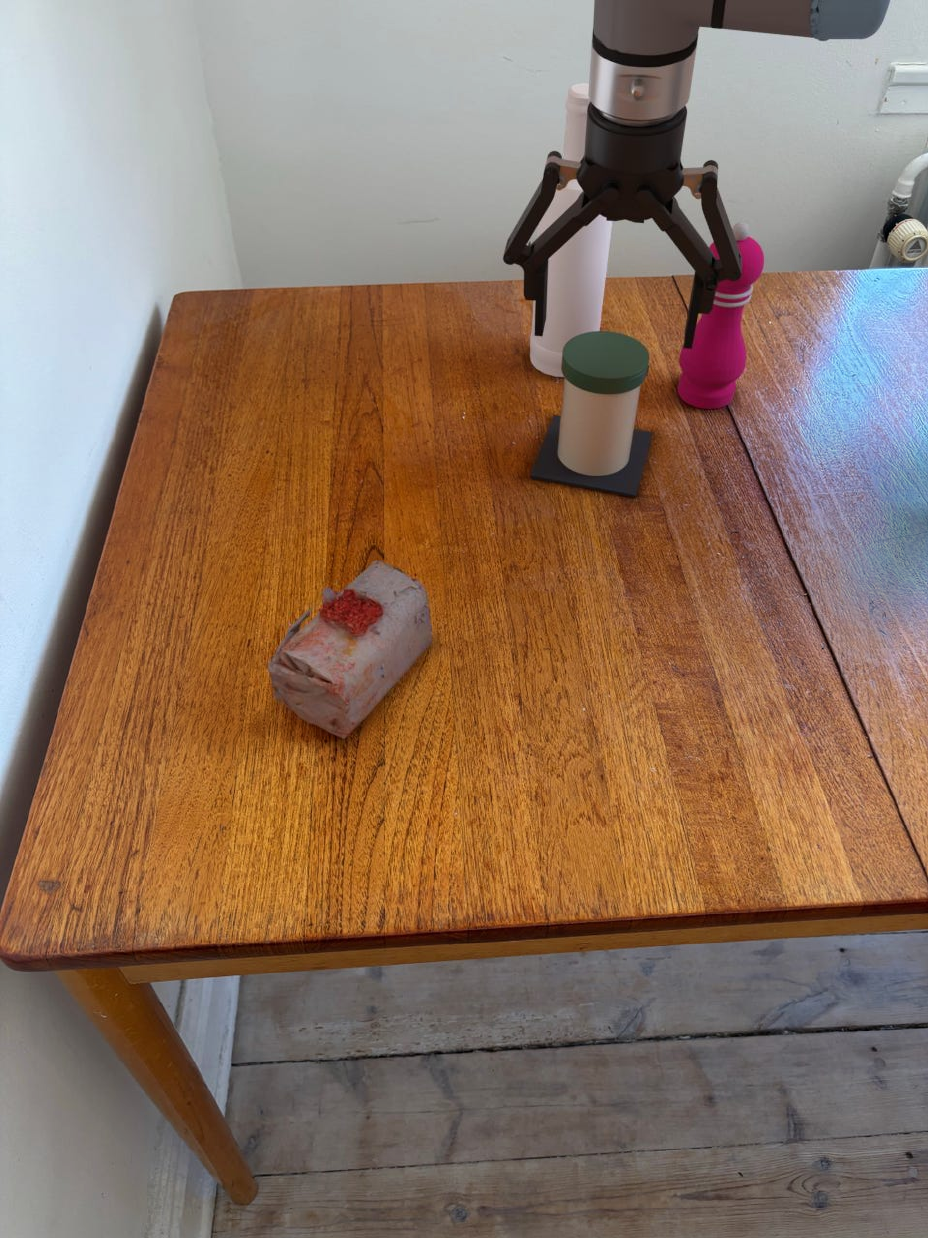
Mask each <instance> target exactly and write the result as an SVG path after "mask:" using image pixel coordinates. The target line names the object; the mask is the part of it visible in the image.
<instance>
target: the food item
mask: <svg viewBox="0 0 928 1238" xmlns="http://www.w3.org/2000/svg"><path fill="white" fill-rule="evenodd" d="M321 595H322V597H323V598H322V599H321V601H320V602H321V603H322V608H318V609H317V611H318V613H316V615H315V616H313V618H312V619H311V620H310V621H309V622H308V623H307V624H305V625H304V626H303V627H302V628H301V626H302V623H303V622H304V621H305V620H306V619H308V618H309V617H310V615H311V611H312V610H313V608H314V606H315V605H312V606H310V607H309V608H308V610H307V611H305V612H304V613H303V614H302V615H301V616H300V617H299V618H298V619H297V620H296V621H294V623H293V624H292V625H291V626H290V627H289V629H288V630H287V632H286V634H285V637H284V639H283V640H282V641H281V643H280V644H279V645H278V647H277V648H276V651H275V653H274V656H273V658H269V662H268V665H267V670H268V673H269V676H270V679H271V680H270V681H271V686H273V692H272V693H273V698H274V699H275V701H278V702H280V703H282V704H283V705H284V706H285V707H286V708H287V709H288V710H291V711H292V712H293V713H295V715H297V717H298V718H300V719H301V720H303V721H304V722H306V723H308V724H311V725H315V726H316V727H318V728H320V729H322V730H324V731H325V732H327V733H329V734H332V735H334V736H336V737H339V738H341V739H343V740H344V739H346V738H348V736H349V735H351V733H352V732H353V731H354V730H355V729H356V728H357V727H358V726H359V725H360V724H361V723H362V722H363V721H364V720H365V719H366V718H367V717H368V716H369V715H370V713H371V712H372V711H373V710H374V709H375V708H376V706H377V705H378V704H379V703H380V702H381V700H382V699H383V698H384V697H385V696H386V695H387V694H388V693H389V692H390V690H391V689H392V688H393V687H395V686H396V684H397V683H398V682H400V680H401V679H402V678H403V677H404V675H406V673H407V672H408V671H409V670H410V669H411V668H412V666H413V665H414V664H415V663H416V662H417V661H418V660H419V658H420V657H421V655H423V654H424V653H425V651H426V650H427V649H428V648H429V647H430V646H431V645H432V643H433V642H434V638H432V632H433V628H432V620H431V619H432V618H431V609H430V605H429V595H428V593H427V589H426V587H425V585H424V584H423V583H422V582H421V581H420V580H419V578H413V577H410V576H409V575H408V574H407V573H405V572H404V571H403V570H401V569H399V568H398V567H396V566H393V565H391V564H388V563H387V562H385V561H381V560H373V561H372V562H371V563H370V565H369V566H368V567H367V568H366V569H364V570H363V571H362V572H361V573H359V575H357V576H356V577H355V578H354V579H353V580H352V581H350V583H348V585H346V586H345V588H343V589H342V590H341V591H340V592H339V591H338V590H333V589H332V588H331V587H328V586H325V587H324V589H323V590H322V593H321ZM300 628H301V629H300Z"/></svg>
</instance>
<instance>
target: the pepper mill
mask: <svg viewBox="0 0 928 1238" xmlns="http://www.w3.org/2000/svg"><path fill="white" fill-rule="evenodd" d="M732 230H733V233H734V236H735V239H736V242H737V244H738V247H739V250H740V253H741V256H742V271H741V278H740V279H739V280H737V281H730V280H728V279H727V280H723V281H721V282H720V283H718V288H717V289H716V293H715V298H714V303H713V308H712V311H711V312H710V313H709V314H701V316H700V318H699V320H698V321H697V324H696V329H695V335H694V340H693V346H692V349H685V348H684V344H682V347H681V350H680V353H679V357H678V364H679V367H680V370H681V371H682V373H681V374H680V376H679V380H678V386H677V394H678V395H679V398H680V399H682V400H683V402H685V403H686V404H688V405H690V406H692V407H695V408H698V409H702V410H703V409H705V410H717V409H721V408H723V407H726V406H728V405H729V404H730V403H732V401H733V398H734V396H735V391H736V388H737V383H736V381H737V380H739V378H740V377H741V376H742V375H743V373H744V371H745V369H746V364H747V347H746V343H745V339H744V336H743V332H742V319H743V312H744V309H745V305H747V304H748V303H749V302H750V301H751V299H752V293H753V291H754V285H753V284H754V283H756V282H757V280H758V279H759V278H760V277H761V275H762V273H763V270H764V267H765V255H764V251H763V248H762V246H761V245H760V244H759V242H757V241H756V240H755V238H752V237H750V236H749V235H750V232H751V231H750V226H749V225H748V224H747V223H746V222H742V221H740V222H736V223H735V224H734V225H732ZM708 247H709V248H710V250H711V251H712V252H713V254H714V255H715V256H716V258H717V259H720V257H719V255H718V252H717V249H716V246H715V244H714V241H712V243H710V244H709V246H708Z"/></svg>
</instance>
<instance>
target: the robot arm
mask: <svg viewBox="0 0 928 1238" xmlns="http://www.w3.org/2000/svg"><path fill="white" fill-rule="evenodd" d="M593 3H594V4H593V5H594V6H593V21H592V22H593V23H592V35H591V36H592V37H591V44H590V46H591V47H590V59H589V60H590V61H589V62H590V63H589V76H588V77H589V79H588V83H589V91H588V96H589V98H590V103H589V105H588V108H587V122H586V137H585V152H584V156H583V158H582V160H581V161H580V162H577V161H571V160H565V159H563V155H562V154H561V153H560V152H559V151H557V150H552V151H550V152H549V153H547V157H546V161H545V164H544V165H545V166H544V171H543V175H542V179H541V181H540V183H539V184H538V186H537V188H536V190H535V191H534V193H533V195H532V197H531V198H530V200H529V202H528V204H527V206H526V207H525V209H524V210H523V212H522V214H521V216H520V218H519V219H518V221H517V222H516V224H515V226H514V228H513V229H512V231H511V233H510V235H509V237H508V238H507V240H506V244H505V247H504V253H503V256H502V260H503V262H504V263H505V264H506V265H508V266H512V265H517V266H519V267H521V268H522V270H523V298H524V299H525V301H531V302H532V301H535V335H534V336H542V337H543V332H544V327H545V322H546V311H547V285H548V259H549V258H550V257H551V256H552V255H553V254H554V253H555V252H557V251H558V250H559V249H560V248H561V247H562V246H563V245H564V244H565V243H566V242H567V241H568V240H569V239H571V238H572V237H573V236H574V235H575V234H576V233H577V232H578V231H579V230H580V229H581V228H582V227H584V226H587V225H589V224H590V223H591V222H592V221H593V220H594V219H595V218H596V217H597V216H598V215H602V216H603V217H606V221H612V222H620V221H629V222H631V223H634V224H645V221H647V220H650V219H652V220H653V222H654V223H655V225H656V226H657V227H658V228H659V230H660V231H661V232H664V233H666V235H667V236H668V238H669V239H670V240H671V241H672V243H673V244H674V245H675V247H676V248H677V249H678V251H679V252H680V253H681V255H682V256H683V257H684V259H685V260H686V261H687V262H688V264H689V266H691V268H692V269H693V270H694V275H693V276H694V277H693V281H692V286H691V292H690V298H689V303H688V309H687V316H686V321H685V327H684V335H683V345H684V348H685V349H692V346H693V340H694V335H695V329H696V325H697V323H698V318H699V315H702V314H709V313H710V312H711V311H712V308H713V303H714V298H715V293H716V289H717V288H718V283H720V282H721V281H723V280H727V279H728V280H730V281H737V280H739V279H740V278H741V271H742V256H741V253H740V250H739V247H738V244H737V242H736V239H735V236H734V233H733V230H732V228H733V226H732V224H731V222H730V219H729V216H728V213H727V211H726V207H725V205H724V202H723V199H722V197H721V194H720V191H719V188H718V183H719V182H718V181H719V163H718V162H717V161H716V160H713V159H708V160H707V161H705V162H704V163H703V165H702V166H701V167H700V166H699V167H684V166H683V164H682V161H681V160H682V159H681V158H682V152H683V145H684V138H685V131H686V124H687V119H688V118H687V117H688V108H687V104H688V103H689V100H690V96H691V90H692V83H693V77H694V69H695V61H696V55H697V48H698V39H699V31H700V28H709V29H710V28H711V29H715V30H730V31H737V32H738V31H739V32H749V33H759V34H760V33H761V34H768V35H769V34H770V35H779V36H780V35H781V36H790V37H801V38H809V39H810V38H811V39H814V40H818V41H820V42H827V41H828V40H865V39H868V38H871V37H872V36H874V35H875V34H876V33H877V32H878V31H879V30H880V28H881V26H882V24H883V22H884V20H885V18H886V15H887V12H888V10H889V7H890V3H891V0H594V1H593ZM573 179H577V182H578V184H579V185H580V187H581V188H582V190H583V192H582V193H581V194H580V196H579V197H578V199H577V200H576V201H575V202H574V203H573V204H572V205H571V206H570V207H569V208H568V209H567V210H566V211H565V212H564V213H563V214H562V215H561V216H560V217H559V218H558V219H557V220H556V221H555V222H554V223H553V224H551V225H550V226H549V227H548V228H547V229H546V230H545V231H544V232H543V233H542V234H541V235H540V236H539V237H538V238H537V237H536V239H535V240H534V241H532V242H531V241H530V239H531V238H532V236H533V235H534V233H535V231H536V229H538V224H539V223H540V221H541V219H542V218H543V216H544V214H545V213H546V211H547V209H548V208H549V206H550V204H551V202H552V201H553V198H554V196H555V192H556V189H557V190H562V189H563V188H565V187H566V186H567V184H568V182H569V181H570V180H573ZM683 187H687V188H688V189H689V190H690V193H691V195H692V197H694V198H695V199H696V200H700V206H701V210H702V215H703V217H704V218H705V222H706V225H707V227H708V230H709V233H710V235H711V237H712V242H714V244H715V246H716V249H717V252H718V255H719V257H720V259H717V258H716V256H715V255H714V254H713V252H712V251H711V250H710V248H709V247H710V246H709V245H708V244H707V243H706V241H705V239H703V237H702V236H701V234H700V233H699V232H698V231H697V229H696V228H695V227H694V225H693V224H692V223H691V221H690V219H689V218H688V217H687V215H686V214H685V213H684V211H683V210H682V209H681V208H680V205H679V202H678V200H677V198H676V197H675V196H676V195H677V194H678V193H679V192H680V191H681V190H682V188H683ZM527 244H528V245H527Z"/></svg>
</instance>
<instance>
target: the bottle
mask: <svg viewBox="0 0 928 1238" xmlns="http://www.w3.org/2000/svg"><path fill="white" fill-rule="evenodd" d="M588 91H589V82H581V83H576V84H573V85H572V86H570V87H569V89H568V90H567V98H566V101H565V110H566V115H565V128H564V140H563V141H564V143H563V155H562V159H565V160H571V161H577V162H580V161H581V160H582V158H583V156H584V152H585V137H586V122H587V108H588V105H589V103H590V98H589V96H588ZM582 192H583V190H582V188H581V187H580V185H579V184H578V182H577V179H573V180H570V181H569V182H568V184H567V186H566V187H565V188H563V189H562V190H557V189H556V192H555V196H554V198H553V201H552V202H551V204H550V206H549V208H548V209H547V211H546V213H545V214H544V216H543V218H542V219H541V221H540V223H539V224H538V226H537V237H536V239H537V238H538V237H539V236H540V235H541V234H542V233H543V232H544V231H545V230H546V229H547V228H548V227H549V226H550V225H551V224H553V223H554V222H555V221H556V220H557V219H558V218H559V217H560V216H561V215H562V214H563V213H564V212H565V211H566V210H567V209H568V208H569V207H570V206H571V205H572V204H573V203H574V202H575V201H576V200H577V199H578V197H579V196H580V194H581V193H582ZM612 228H613V221H606V217H603V216H602V215H598V216H597V217H596V218H595V219H594V220H593V221H592V222H591V223H590V224H589V225H587V226H584V227H582V228H581V229H580V230H579V231H578V232H577V233H576V234H575V235H574V236H573V237H572V238H571V239H569V240H568V241H567V242H566V243H565V244H564V245H563V246H562V247H561V248H560V249H559V250H558V251H557V252H555V253H554V254H553V255H552V256H551V257H550V258H549V259H548V285H547V311H546V322H545V327H544V332H543V337H542V336H534V335H535V301H533V303H532V316H531V317H532V318H531V332H530V336H529V348H530V350H529V359H530V363H531V364H532V365H533V367H534V368H535V369H536V370H538V371H540V372H541V373H542V374H544V375H547V376H552V377H554V378H555V377H556V378H564V376H563V373H562V370H561V364H562V353H563V348H564V346H565V344H566V343H567V342H568V341H569V340H570V339H571V338H573V337H575V336H577V335H580V334H583V333H587V332H593V331H601V330H600V329H601V323H602V322H601V320H602V313H603V304H604V295H605V288H606V278H607V271H608V261H609V254H610V246H611V245H610V244H611V236H612V230H613V229H612Z"/></svg>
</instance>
